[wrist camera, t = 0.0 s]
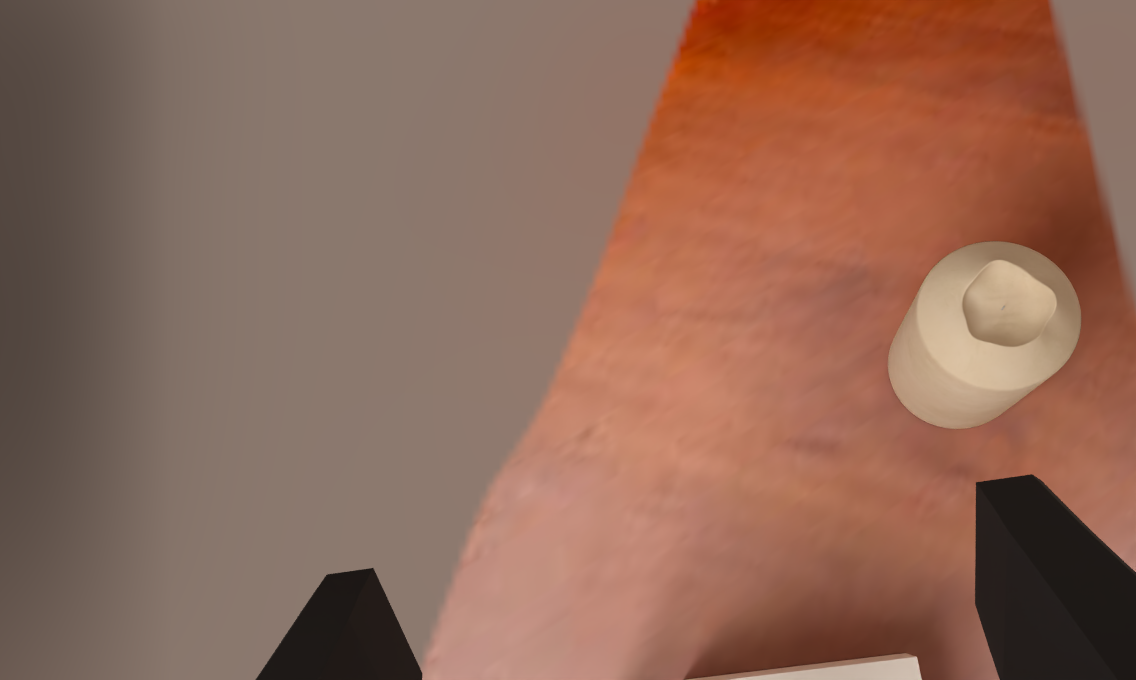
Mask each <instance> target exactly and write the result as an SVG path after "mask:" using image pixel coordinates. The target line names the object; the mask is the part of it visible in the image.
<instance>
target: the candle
mask: <svg viewBox="0 0 1136 680" xmlns="http://www.w3.org/2000/svg"><path fill="white" fill-rule="evenodd" d="M1080 330H1081V309H1080V305H1079V301H1078V297H1077V295H1076V292H1075V290H1074V288H1073V286H1072V284H1071V283H1070V281H1069V279H1068V278H1067V277H1066V275H1065V274H1064V273H1063V272H1062V271H1061V269H1060V268H1059V267H1058V266H1057V265H1056V264H1054V263H1053V262H1052V261H1051V260H1049V259H1048V258H1047V257H1045V256H1043V255H1042V254H1040V253H1039V252H1037V251H1034V250H1032V249H1030V248H1028V247H1025V246H1022V245H1019V244H1014V243H1009V242H1000V241H989V242H980V243H975V244H971V245H967V246H965V247H962V248H960V249H957V250H955V251H954V252H952V253H950V254H948V255H947V256H946V257H944V258H943V259H942V260H940V261H939V262H938V263H937V264H936V265H935V266H934V267H933V268H932V270H931V271H930V272H929V274H928V275H927V277H926V278H925V280H924V282H923V284H922V285H921V287H920V289H919V291H918V293H917V295H916V297H915V299H914V301H913V302H912V304H911V306H910V308H909V310H908V312H907V314H906V316H905V318H904V320H903V321H902V323H901V325H900V327H899V329H898V331H897V333H896V335H895V337H894V339H893V342H892V344H891V347H890V351H889V356H888V372H889V377H890V381H891V384H892V387H893V389H894V391H895V393H896V395H897V397H898V398H899V400H900V401H901V403H902V404H903V405H904V406H905V407H906V408H907V409H908V410H909V411H910V412H911V413H912V414H914V415H915V416H917V417H918V418H920V419H921V420H923V421H925V422H927V423H930V424H932V425H935V426H939V427H943V428H950V429H965V428H972V427H976V426H980V425H983V424H985V423H988V422H989V421H991V420H993V419H995V418H996V417H998V416H1000V415H1001V414H1002V413H1004V412H1005V411H1006V410H1008V409H1009V408H1010V407H1011V406H1013V405H1014V404H1015V403H1017V402H1018V401H1019V400H1021V399H1022V398H1023V397H1025V396H1026V395H1027V394H1029V393H1030V392H1031V391H1032V390H1034V389H1035V388H1036V387H1038V386H1039V385H1040V384H1042V383H1043V382H1044V381H1046V380H1047V379H1048V378H1049V377H1051V376H1052V375H1053V374H1055V373H1056V372H1057V371H1058V370H1059V369H1060V368H1061V367H1062V366H1063V365H1064V364H1065V363H1066V362H1067V360H1068V359H1069V358H1070V356H1071V355H1072V353H1073V351H1074V349H1075V347H1076V344H1077V342H1078V339H1079V335H1080Z"/></svg>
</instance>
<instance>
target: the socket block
mask: <svg viewBox="0 0 1136 680" xmlns="http://www.w3.org/2000/svg"><path fill="white" fill-rule="evenodd" d="M686 680H922V679H921V674H920V669H919V665H918V660H917V657H916V656H913V655H910V654H907V653H902V654H893V655H885V656H877V657H868V658H860V659H852V660H844V661H835V662H827V663H819V664H810V665H802V666H794V667H785V668H777V669H769V670H761V671H752V672H744V673H736V674H727V675H719V676H711V677H703V678H694V679H686Z"/></svg>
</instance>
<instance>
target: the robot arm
mask: <svg viewBox="0 0 1136 680" xmlns="http://www.w3.org/2000/svg"><path fill="white" fill-rule="evenodd" d="M975 605H976V608H977V611H978V614H979V617H980V620H981V624H982V627H983V630H984V633H985V636H986V639H987V642H988V646H989V649H990V652H991V655H992V658H993V661H994V664H995V667H996V670H997V673H998V676H999V679H1000V680H1136V572H1135V571H1134V570H1133V569H1131V568H1130V567H1129V566H1128V565H1127V564H1126V563H1125V562H1124V561H1123V560H1122V559H1121V558H1120V557H1119V556H1117V555H1116V554H1115V553H1114V552H1113V551H1112V550H1111V549H1110V548H1109V547H1108V546H1107V545H1106V544H1105V543H1104V542H1103V541H1102V540H1101V539H1100V538H1098V537H1097V536H1096V535H1095V534H1094V533H1093V532H1092V531H1091V530H1090V529H1089V528H1088V527H1087V526H1086V525H1085V524H1084V523H1083V522H1082V521H1081V520H1080V519H1079V518H1078V517H1077V516H1076V515H1075V514H1074V513H1073V512H1072V511H1071V510H1070V509H1069V508H1068V507H1067V506H1066V505H1065V504H1064V503H1063V502H1062V501H1061V500H1060V499H1059V498H1058V497H1057V496H1056V495H1055V494H1054V493H1053V492H1052V491H1051V490H1050V489H1049V488H1048V487H1047V486H1046V485H1045V484H1044V483H1043V482H1042V481H1041V480H1040V479H1038V478H1037V477H1035V476H1034V475H1025V476H1018V477H1011V478H1004V479H997V480H990V481H983V482H976V566H975ZM256 680H422V672H421V670H420V667H419V665H418V663H417V661H416V659H415V657H414V655H413V653H412V650H411V648H410V646H409V644H408V642H407V640H406V637H405V635H404V633H403V631H402V629H401V627H400V625H399V622H398V620H397V618H396V616H395V614H394V612H393V609H392V607H391V605H390V603H389V601H388V599H387V597H386V594H385V592H384V590H383V588H382V586H381V584H380V582H379V579H378V577H377V575H376V573H375V571H374V569H373V568H371V569H364V570H356V571H350V572H342V573H335V574H328V575H326V577H325V578H324V580H323V581H322V582H321V584H320V585H319V587H318V588H317V589H316V591H315V592H314V594H313V595H312V597H311V598H310V600H309V601H308V603H307V604H306V606H305V607H304V608H303V610H302V611H301V613H300V614H299V616H298V617H297V619H296V620H295V622H294V624H293V625H292V627H291V628H290V629H289V631H288V633H287V634H286V635H285V637H284V638H283V640H282V641H281V643H280V644H279V646H278V647H277V649H276V650H275V652H274V653H273V655H272V656H271V658H270V659H269V661H268V662H267V664H266V665H265V667H264V668H263V670H262V671H261V673H260V674H259V676H258V677H257V678H256Z"/></svg>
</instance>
